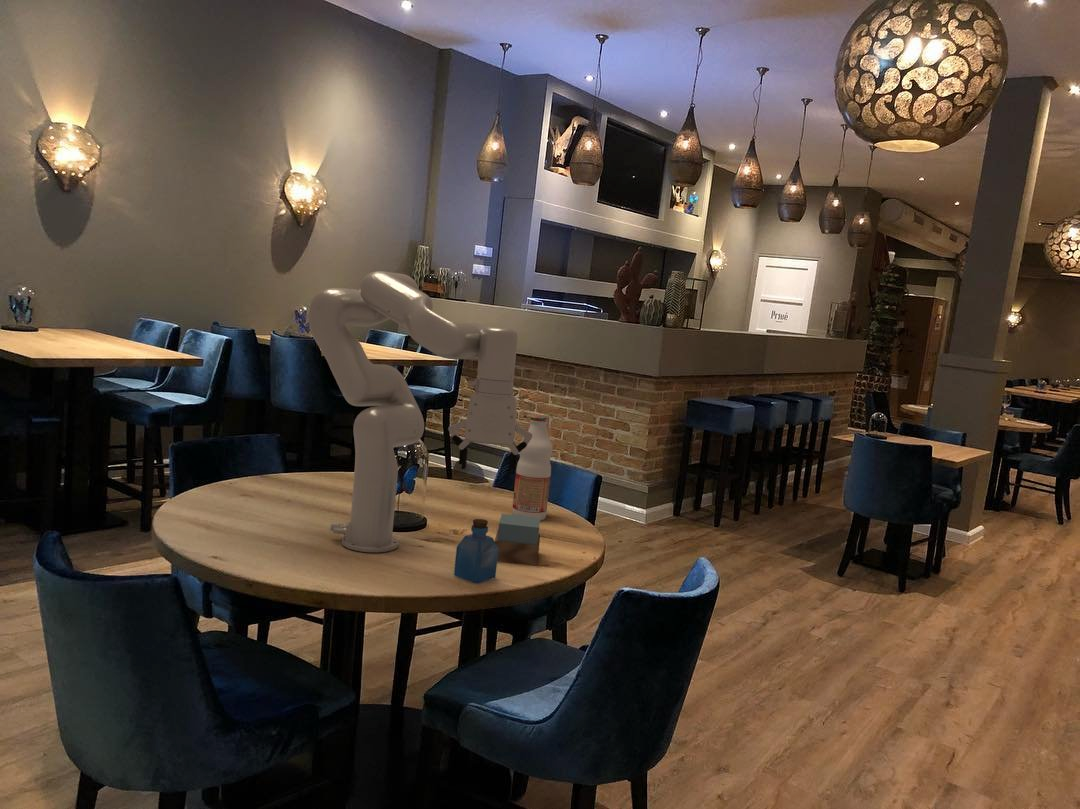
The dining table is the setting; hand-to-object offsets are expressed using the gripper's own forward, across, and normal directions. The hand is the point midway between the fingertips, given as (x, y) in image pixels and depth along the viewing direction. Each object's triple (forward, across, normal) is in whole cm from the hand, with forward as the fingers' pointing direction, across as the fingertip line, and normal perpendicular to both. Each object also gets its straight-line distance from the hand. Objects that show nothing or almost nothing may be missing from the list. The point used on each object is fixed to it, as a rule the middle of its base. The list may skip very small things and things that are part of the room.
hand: (487, 470), depth 176 cm
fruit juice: (+23, +9, +55) cm, 61 cm away
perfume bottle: (+23, -1, 0) cm, 23 cm away
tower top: (+18, +8, +17) cm, 26 cm away
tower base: (+23, +7, +17) cm, 30 cm away
